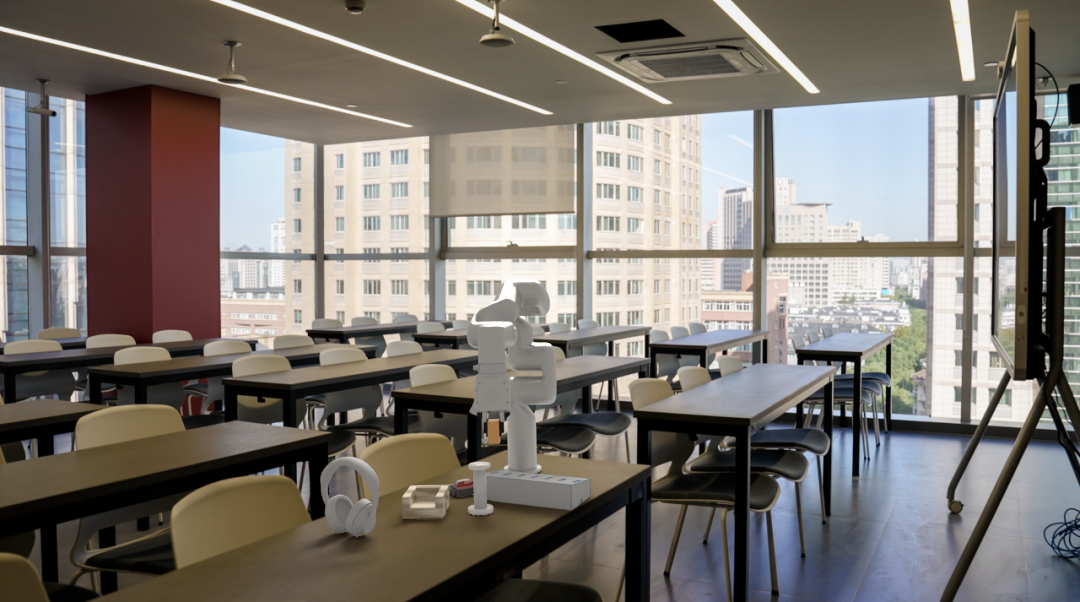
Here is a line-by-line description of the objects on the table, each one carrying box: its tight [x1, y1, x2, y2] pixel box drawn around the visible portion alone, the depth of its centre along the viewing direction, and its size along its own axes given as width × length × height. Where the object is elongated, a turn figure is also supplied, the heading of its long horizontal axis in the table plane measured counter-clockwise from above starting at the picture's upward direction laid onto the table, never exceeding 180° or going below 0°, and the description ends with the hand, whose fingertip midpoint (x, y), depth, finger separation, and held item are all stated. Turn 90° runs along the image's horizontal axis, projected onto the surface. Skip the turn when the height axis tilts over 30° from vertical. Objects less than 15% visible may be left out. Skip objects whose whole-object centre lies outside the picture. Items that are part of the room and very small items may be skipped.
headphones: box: [319, 456, 380, 537], centre depth 197 cm, size 18×8×20 cm, turn 60°
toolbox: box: [448, 478, 474, 498], centre depth 233 cm, size 9×4×20 cm
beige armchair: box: [401, 484, 451, 519], centre depth 215 cm, size 12×11×6 cm
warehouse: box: [486, 469, 592, 512], centre depth 226 cm, size 30×14×8 cm, turn 65°
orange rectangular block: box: [487, 418, 501, 445], centre depth 213 cm, size 5×3×6 cm, turn 179°
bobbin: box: [467, 461, 494, 517], centre depth 214 cm, size 7×7×13 cm
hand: (494, 435), depth 213 cm, fingers closed on orange rectangular block, 2 cm apart
